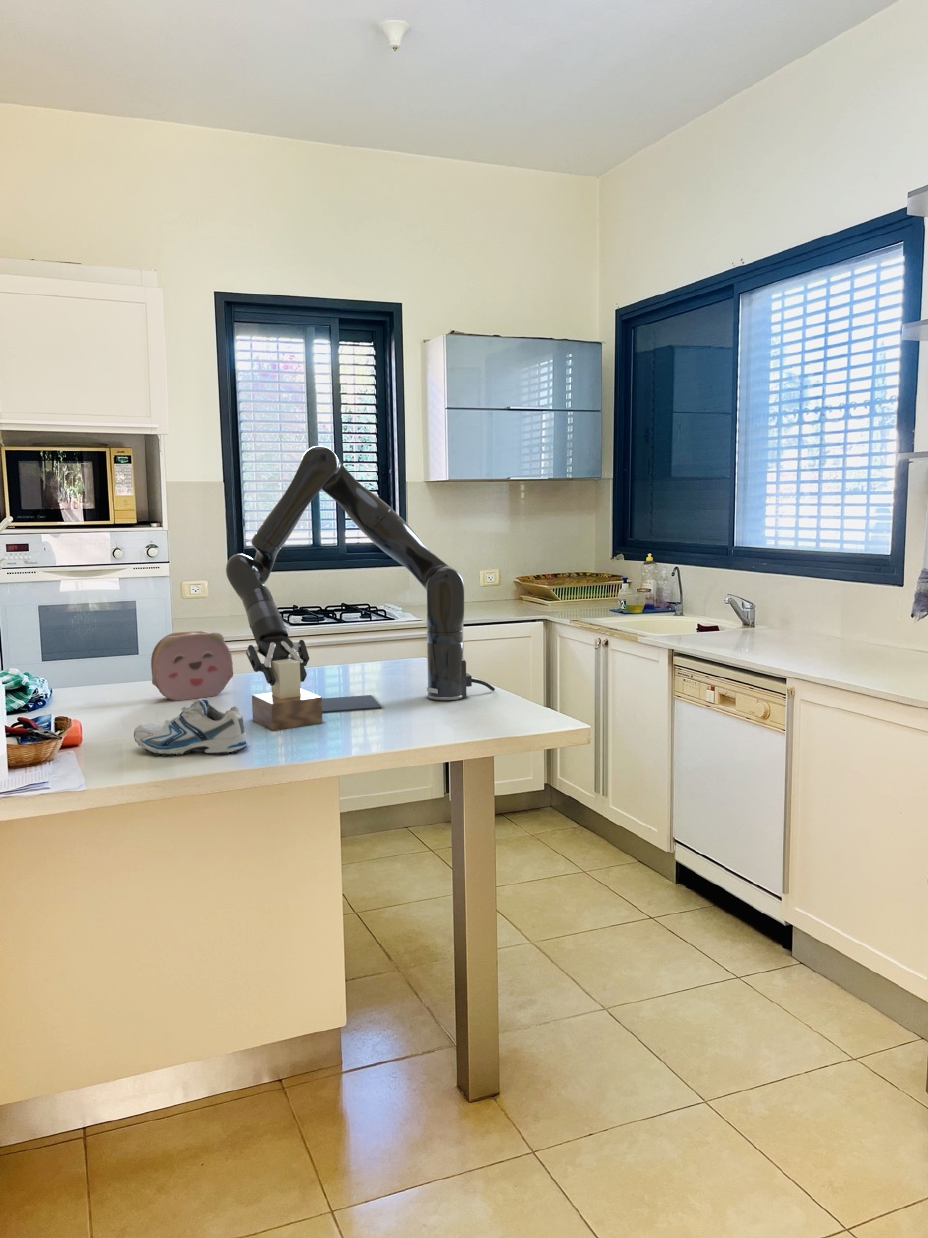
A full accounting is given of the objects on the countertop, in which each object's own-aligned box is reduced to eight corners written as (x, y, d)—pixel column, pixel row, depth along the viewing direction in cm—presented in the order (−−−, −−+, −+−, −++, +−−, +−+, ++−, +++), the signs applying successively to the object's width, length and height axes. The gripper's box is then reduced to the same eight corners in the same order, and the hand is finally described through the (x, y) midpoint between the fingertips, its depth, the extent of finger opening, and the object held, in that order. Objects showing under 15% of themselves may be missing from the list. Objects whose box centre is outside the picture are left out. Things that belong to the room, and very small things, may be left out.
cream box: (292, 692, 216) (290, 658, 215) (301, 696, 212) (299, 661, 211) (271, 695, 214) (270, 661, 213) (280, 699, 209) (279, 664, 208)
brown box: (300, 712, 222) (300, 688, 221) (322, 722, 212) (321, 697, 211) (252, 720, 215) (251, 694, 215) (272, 730, 205) (271, 704, 205)
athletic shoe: (140, 742, 195) (134, 691, 191) (252, 740, 197) (248, 689, 193) (128, 767, 186) (121, 714, 182) (245, 765, 188) (241, 712, 184)
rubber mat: (371, 696, 239) (371, 695, 239) (381, 708, 226) (381, 706, 226) (308, 701, 235) (308, 699, 235) (314, 713, 221) (314, 711, 221)
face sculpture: (156, 703, 234) (152, 638, 231) (150, 698, 239) (146, 634, 237) (235, 694, 244) (232, 631, 241) (227, 689, 250) (224, 628, 247)
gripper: (240, 617, 213) (262, 675, 205) (299, 611, 221) (322, 668, 212) (233, 637, 218) (254, 695, 210) (291, 631, 226) (313, 687, 218)
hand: (288, 681), depth 211 cm, fingers open, 6 cm apart
